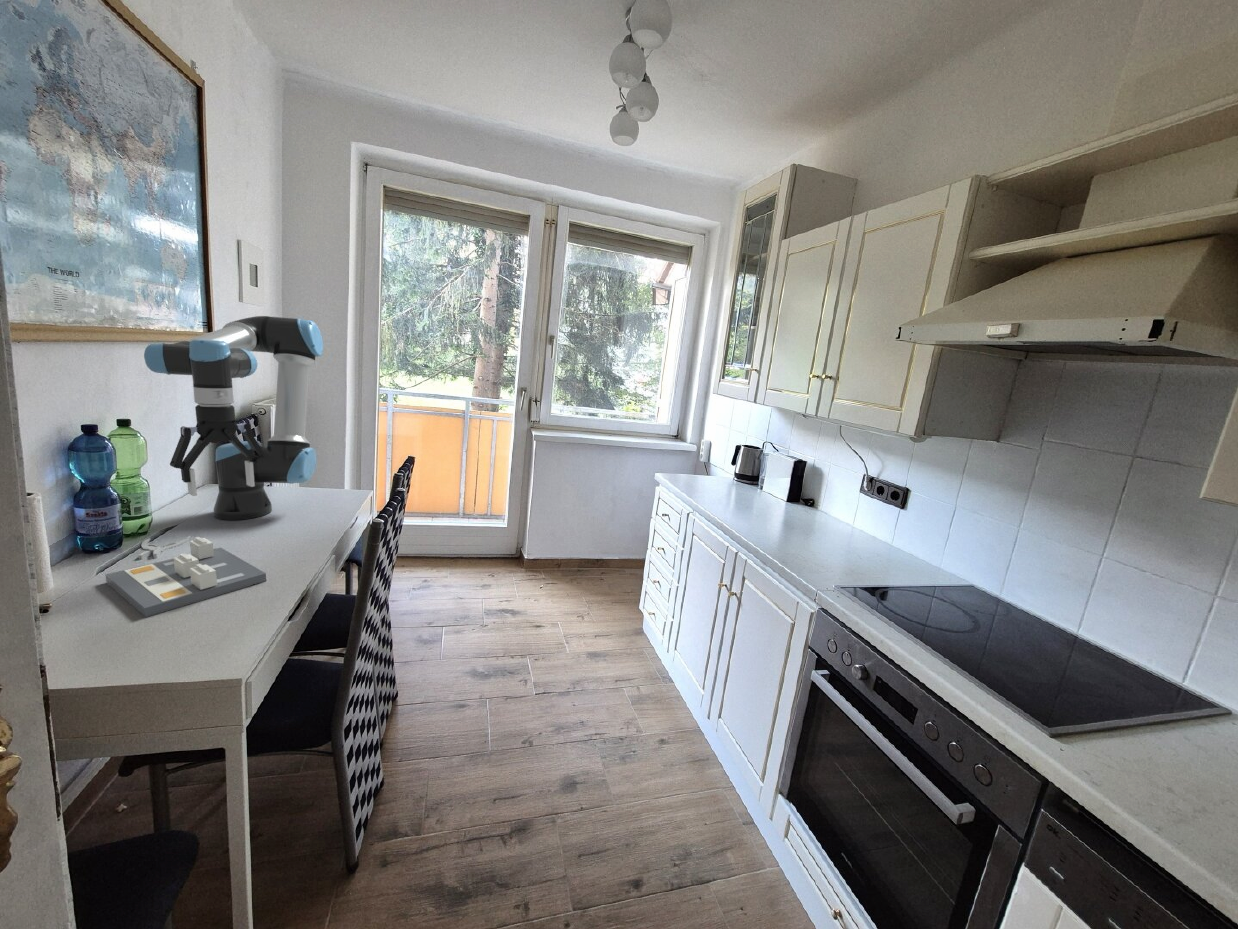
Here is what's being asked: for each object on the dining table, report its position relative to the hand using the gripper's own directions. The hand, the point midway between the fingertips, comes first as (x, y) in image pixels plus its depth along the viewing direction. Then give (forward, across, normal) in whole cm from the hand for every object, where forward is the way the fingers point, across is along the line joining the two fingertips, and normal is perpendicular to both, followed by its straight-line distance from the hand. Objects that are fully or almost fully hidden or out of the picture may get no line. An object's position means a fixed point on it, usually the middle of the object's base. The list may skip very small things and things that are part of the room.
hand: (222, 490), depth 128 cm
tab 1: (+16, -6, 0) cm, 17 cm away
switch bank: (+18, -12, -9) cm, 23 cm away
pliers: (+19, -9, +18) cm, 28 cm away
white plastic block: (+16, -12, -18) cm, 27 cm away
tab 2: (+16, -12, -9) cm, 22 cm away
